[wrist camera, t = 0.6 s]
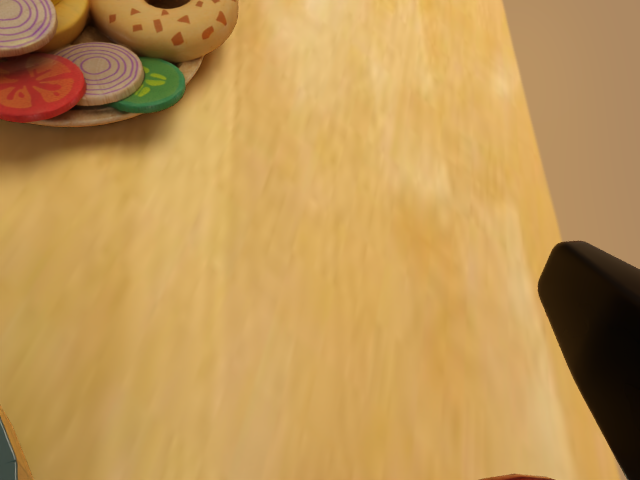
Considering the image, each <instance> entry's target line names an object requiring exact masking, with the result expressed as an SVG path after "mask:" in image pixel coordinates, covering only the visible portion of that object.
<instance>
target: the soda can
mask: <svg viewBox="0 0 640 480" xmlns="http://www.w3.org/2000/svg"><path fill="white" fill-rule="evenodd" d="M480 480H554V479H551V478H548V477H543V476H532V475H522V474H510V475H504V476H497V477H490V478H484V479H480Z"/></svg>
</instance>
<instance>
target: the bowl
mask: <svg viewBox="0 0 640 480" xmlns="http://www.w3.org/2000/svg"><path fill="white" fill-rule="evenodd" d="M0 480H34V479H33V476H32V474H31V471H30V469H29V466H28V464H27V461H26V459H25V456H24V454H23V451H22V449H21V446H20V443H19V441H18V438H17V436H16V433H15V431H14V428H13V426H12V424H11V422H10V421H9V419H8V417H7V416H6V414H5V412H4V411H3V409H2V407H1V405H0Z"/></svg>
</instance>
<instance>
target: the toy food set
mask: <svg viewBox="0 0 640 480" xmlns="http://www.w3.org/2000/svg"><path fill="white" fill-rule="evenodd" d="M237 17H238V0H0V119H2V120H7V121H11V122H20V123H31V124H37V125H44V126H54V127H84V126H95V125H103V124H108V123H114V122H118V121H122V120H125V119H129V118H132V117H135V116H138V115H140V114H143V113H152V112H158V111H161V110H164V109H167V108H169V107H171V106H173V105H174V104H175V103H177V102H178V101H179V100H180V99H181V98H182V96H183V94H184V92H185V88H186V85H187V84H188V82H189V81H190V80H191V79H192V77H193V76H194V75H195V73H196V72H197V70H198V68H199V66H200V65H201V62H202V60H203V57H204V55H206V54H208V53H210V52H211V51H213V50H215V49H216V48H218V47H219V46H220V45H221V44H223V43H224V42H225V40H226V39H227V38H228V37H229V36H230V34H231V33H232V31H233V29H234V27H235V25H236V22H237Z"/></svg>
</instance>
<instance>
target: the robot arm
mask: <svg viewBox="0 0 640 480" xmlns="http://www.w3.org/2000/svg"><path fill="white" fill-rule="evenodd" d="M538 293H539V297H540V300H541V302H542V305H543V307H544V309H545V312H546V314H547V317H548V319H549V322H550V324H551V326H552V329H553V331H554V334H555V336H556V339H557V341H558V343H559V346H560V348H561V351H562V353H563V356H564V358H565V360H566V363H567V365H568V367H569V370H570V372H571V374H572V376H573V379H574V381H575V383H576V385H577V387H578V389H579V391H580V392H581V394H582V396H583V398H584V400H585V402H586V404H587V406H588V407H589V409H590V411H591V413H592V415H593V417H594V419H595V420H596V422H597V424H598V426H599V428H600V430H601V432H602V434H603V435H604V437H605V439H606V441H607V443H608V445H609V447H610V448H611V450H612V452H613V454H614V456H615V458H616V460H617V461H618V463H619V465H620V467H621V469H622V471H623V473H624V475H625V476H626V478H627V480H640V269H638V268H636V267H634V266H632V265H630V264H627V263H626V262H624V261H622V260H620V259H618V258H616V257H614V256H612V255H610V254H608V253H606V252H604V251H602V250H600V249H598V248H596V247H594V246H592V245H590V244H589V243H586V242H583V241H569V242H561V243H558V244H557V245H556V246H555V247H554V248H553V249H552V251H551V254H550V256H549V258H548V260H547V263H546V265H545V267H544V269H543V272H542V274H541V276H540V279H539V281H538Z"/></svg>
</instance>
